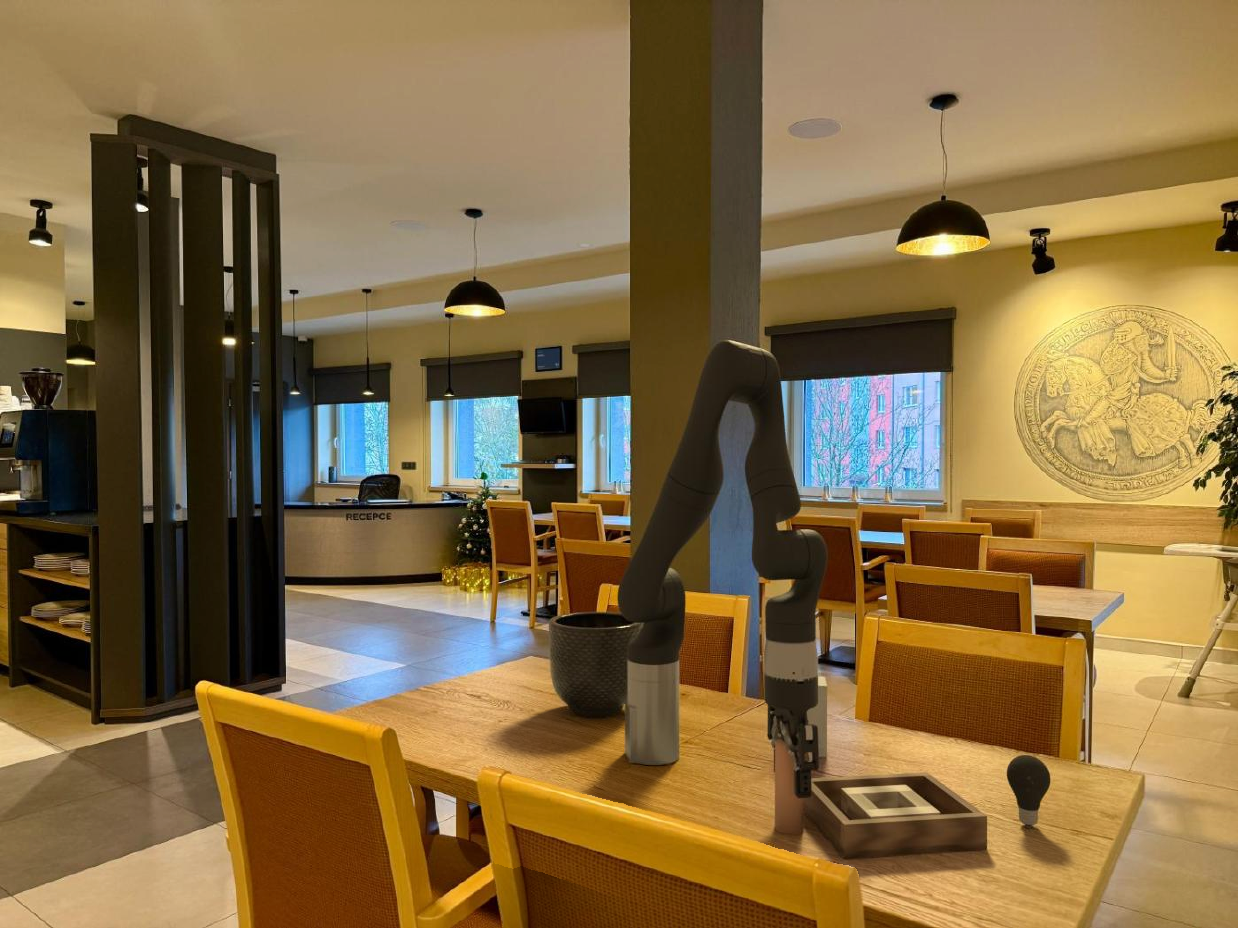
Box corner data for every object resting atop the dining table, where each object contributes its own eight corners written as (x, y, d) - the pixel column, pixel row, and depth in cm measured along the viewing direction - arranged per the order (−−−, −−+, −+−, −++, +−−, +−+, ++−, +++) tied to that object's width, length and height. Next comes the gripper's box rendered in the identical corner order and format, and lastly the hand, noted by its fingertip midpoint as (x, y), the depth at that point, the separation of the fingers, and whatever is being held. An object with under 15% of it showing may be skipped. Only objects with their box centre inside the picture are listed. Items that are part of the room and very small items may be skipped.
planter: (660, 706, 178) (659, 617, 178) (609, 731, 161) (609, 632, 161) (584, 692, 188) (584, 608, 188) (529, 714, 172) (529, 622, 172)
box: (844, 858, 109) (844, 824, 109) (801, 808, 125) (801, 778, 125) (987, 849, 111) (987, 815, 111) (927, 801, 127) (927, 772, 127)
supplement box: (827, 758, 146) (827, 686, 146) (784, 755, 148) (784, 683, 148) (825, 744, 154) (826, 675, 154) (784, 741, 155) (784, 673, 155)
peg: (780, 834, 116) (780, 748, 116) (770, 822, 120) (771, 739, 120) (807, 833, 116) (808, 747, 116) (797, 820, 120) (798, 737, 120)
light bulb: (998, 818, 121) (998, 749, 121) (1035, 816, 122) (1035, 748, 122) (1020, 835, 116) (1020, 763, 116) (1059, 833, 116) (1059, 762, 116)
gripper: (750, 660, 125) (751, 769, 125) (782, 684, 111) (783, 807, 110) (798, 658, 126) (799, 766, 126) (836, 681, 112) (837, 803, 112)
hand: (792, 785), depth 118 cm, fingers open, 8 cm apart
